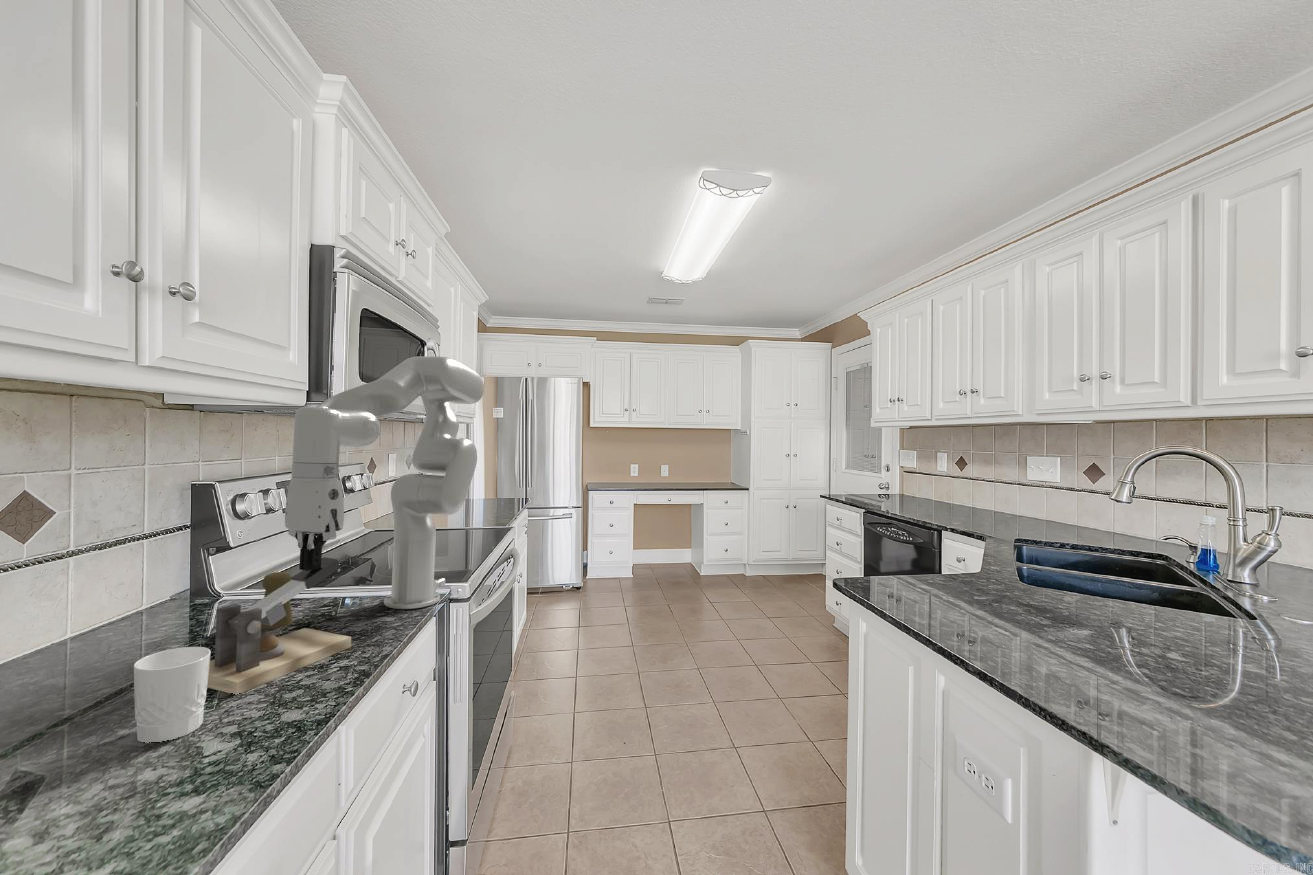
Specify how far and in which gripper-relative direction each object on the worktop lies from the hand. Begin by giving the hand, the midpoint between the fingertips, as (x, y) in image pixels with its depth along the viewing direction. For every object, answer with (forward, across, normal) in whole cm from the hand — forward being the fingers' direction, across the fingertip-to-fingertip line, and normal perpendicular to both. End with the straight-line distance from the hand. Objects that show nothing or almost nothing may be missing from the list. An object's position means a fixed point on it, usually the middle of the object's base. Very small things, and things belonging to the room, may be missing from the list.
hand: (310, 568), depth 101 cm
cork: (+16, +18, -8) cm, 25 cm away
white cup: (+16, -8, +26) cm, 32 cm away
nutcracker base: (+16, 0, +6) cm, 17 cm away
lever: (+6, 0, +3) cm, 7 cm away
